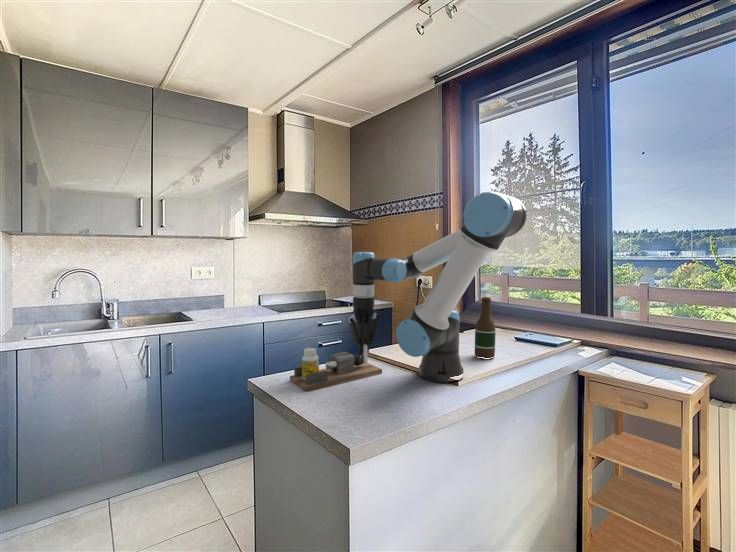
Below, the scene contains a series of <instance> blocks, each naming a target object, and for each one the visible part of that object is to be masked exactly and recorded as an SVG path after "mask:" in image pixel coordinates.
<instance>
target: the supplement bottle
mask: <svg viewBox="0 0 736 552" xmlns="http://www.w3.org/2000/svg"><path fill="white" fill-rule="evenodd" d="M303 354H304V355H303V356H302V358H301V366H302V378H303V380H305V381H306V375H307V374H312V373H316V372H319V370H320V358H319V355H318V354H317V348H314V347H306V348H304V349H303Z"/></svg>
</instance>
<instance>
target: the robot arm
mask: <svg viewBox="0 0 736 552" xmlns="http://www.w3.org/2000/svg"><path fill="white" fill-rule="evenodd" d="M527 214H528V213H527V210H526V207H525V205H524V204H523V203H522V201H520V200H519V199H518V198H516V197H514V196H511V195H506V194H504V193H502V192H498V191H485V192H481V193H478V194H476V195H475V196H473V197H472V198H471V199H470V200H469V201H468V202H467V204H466V206H465V208H464V210H463V216H462V217H463V223H462V225H461V226H460V228H459V229H457V230H455V231H454V232H452V233H450V234H448V235H446V236H444V237H442V238H440V239H439V240H436V241H435V242H432V243H431V244H429V245H427V246H425V247H423V248H421V249H419V250H417V251H415V252H413V253H412V254H410V255H408V256H406V257H397V258H376V257H375V253H374V252H372V251H357V252H353V256H352V264H351V265H352V295H353V297H352V308H353V310H352V315H350V316H348V317H346V321H347V323H348V324H349V325H348V326H349V329H350V333H351V337H352V342H353V343H354V344H356V345H357V346H358V347H357V350H358V351H357V352H358V353H357V354H359V353H360V354H361V355H362V356H363V363H368V353H370V345H371V344H372V342H374V341H375V336H376V331H377V326H378V321H379V319H380V318H381V315H380V314H379V313H376V312H375V309H374V307H375V297H374V296H375V281H380V282H389V283H400V282H403V280H409V279H410V280H413V279H417V278H419V277H421V275H423V273H425V272H427V271H429V270H431V269H433V268H437V266H441V265H442V264H445V263H446V264H445V266H444V267H443V269H442V271H441V272H440V273H439V276H438V278H437V279H436V281H435V283H434V284H433V285H432V288H431V290H430V291H429V293H428V295H427V296H426V299H425V300H424V302H423V303H421V304H417V305H416V306H415V307H414V309H413V310H412V312H411V314H410V316H409V317H408V318H407V319H403V320H402V322H400V323H399V324H398V325H397V328H396V332H395V333H396V334H395V335H396V336H395V338H396V340H397V344H398V346H399V348H400V349H401V350H402V351H403V353H404V354H406V355H408V356H410V357H413V358H417V357H422V358H421V360H420V364H419V366H418V375H419V377H420V378H422V379H424V380H426V381H431V382H437V383H449V382H448V378H450V377H454V376H459V375H461V374H463V373H465V372H464V368H463V365H462V361H461V358H460V354H459V352H460V350H459V349H460V326H461V324H460V323H461V320H460V313H459V311H458V310H455V308H456V306H457V305H458V303H459V301H460V300H461V298H462V296H463V295H464V294H465V292H466V290H467V288H468V287H469V285H470V284H471V282H472V281H473V279H474V277H475V276H476V274H477V272H478V271H479V269H480V268H481V266H482V264H483V263H484V262H485V260H486V258H487V256H488V255H489V253H492V252H497V251H498V250H499V248H500V247H501V246H502V243H504V240H505V239H506V238H509V237H512V236H514V235H516V234H518V233H519V232H520V231H521V230H522V229H523V228H524V227H525V224H526V221H527Z"/></svg>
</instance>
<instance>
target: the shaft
mask: <svg viewBox="0 0 736 552" xmlns="http://www.w3.org/2000/svg"><path fill="white" fill-rule="evenodd" d="M353 355H354V365H355V366H358V365H362V364H363V356H362V355H361V354H360V353H355V354H353ZM333 368H337V361H331V360H330V361H326V362H325V369H327V370H328V369H333Z"/></svg>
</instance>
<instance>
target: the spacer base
mask: <svg viewBox="0 0 736 552" xmlns="http://www.w3.org/2000/svg"><path fill="white" fill-rule="evenodd" d="M331 361H337V368H333V369H328V370H327V369H326V368H321V369H319V372H316V373H312V374H307V375H306V381H305V380H303V378H302V365H300V366H296V367H293V370H294V371H293V372H294V374H293V375H289V381H290V382H292V383H293V384H294V385H296V386H297V387H299V388H301V390H303V391H305V392H307V393H308V392H312V391H315V390H319V389H324V388H328V387H332V386H336V385H341V384H346V383H348V382H352V381H353V382H354V381H356V380H361V379H364V378H369V377H373V376H377V375H382V374H383V369H382V368H379V366H378V367H377V366H376V365H373V364H371V363H369V362H367V363H363V364H362V365H358V366H355V365H354V354H352V353H349V352H347V351H344V352H343V351H341V352H338V353H333V354H332V353H331V354H330V362H331Z"/></svg>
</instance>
